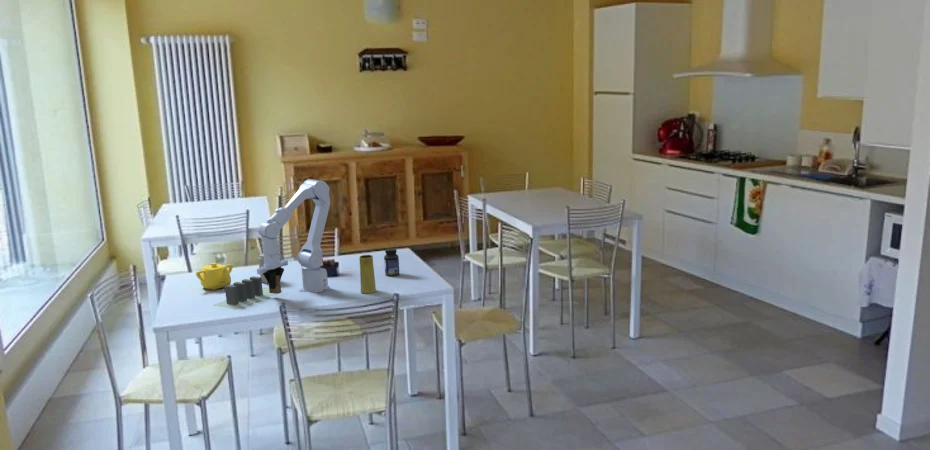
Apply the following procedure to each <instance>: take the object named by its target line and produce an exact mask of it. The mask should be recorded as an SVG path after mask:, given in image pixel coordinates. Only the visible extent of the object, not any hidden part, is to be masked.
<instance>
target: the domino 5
mask: <svg viewBox="0 0 930 450" xmlns="http://www.w3.org/2000/svg"><path fill="white" fill-rule="evenodd" d="M268 289H269V292H270V293H275V294H274V295H279V294H282V292H281V290H282V287H281V281H280V276H279V275H276V277H275V289H270V286H269V285H268Z"/></svg>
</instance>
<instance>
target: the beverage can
mask: <svg viewBox="0 0 930 450" xmlns="http://www.w3.org/2000/svg"><path fill="white" fill-rule="evenodd" d="M257 259H258V266H259V267H258V269H259V268H261V267H262V266H264V265H263V264H265V262H264V253H260V254H258V258H257ZM259 277H261V279H262V284H268V281H267V279H266V278H265V276H264V275H263V274H259Z"/></svg>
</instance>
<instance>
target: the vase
mask: <svg viewBox="0 0 930 450" xmlns="http://www.w3.org/2000/svg"><path fill="white" fill-rule="evenodd" d="M373 256H374V255H372V254H362V255H360V256H359V272H360V273H359V275H360V294H366V295H367V294H374V293H376V292H377V288H376V278H375V277H376V276H375V267H374V258H373Z"/></svg>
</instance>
